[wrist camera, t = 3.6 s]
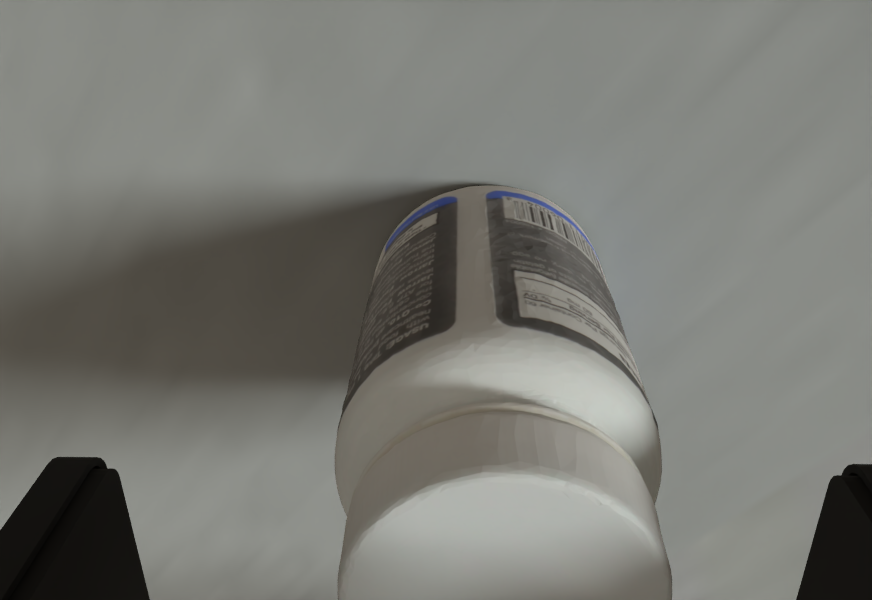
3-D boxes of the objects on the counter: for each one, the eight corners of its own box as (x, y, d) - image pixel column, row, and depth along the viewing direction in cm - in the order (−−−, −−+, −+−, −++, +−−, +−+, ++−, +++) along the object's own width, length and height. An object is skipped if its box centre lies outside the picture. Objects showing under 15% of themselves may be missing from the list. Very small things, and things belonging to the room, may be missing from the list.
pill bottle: (405, 394, 18) (358, 752, 11) (350, 204, 16) (244, 487, 9) (615, 360, 17) (719, 716, 10) (586, 157, 15) (692, 419, 8)
